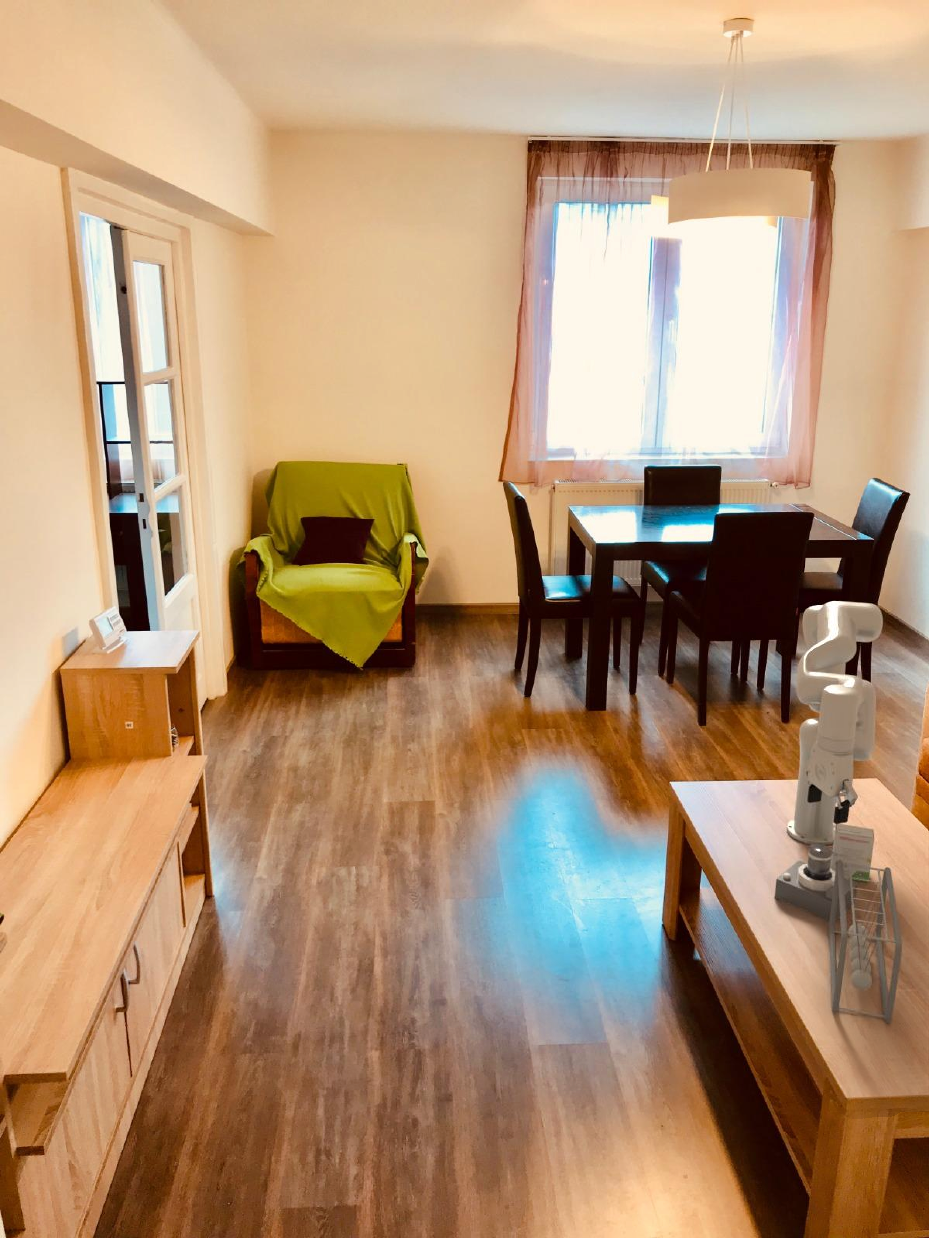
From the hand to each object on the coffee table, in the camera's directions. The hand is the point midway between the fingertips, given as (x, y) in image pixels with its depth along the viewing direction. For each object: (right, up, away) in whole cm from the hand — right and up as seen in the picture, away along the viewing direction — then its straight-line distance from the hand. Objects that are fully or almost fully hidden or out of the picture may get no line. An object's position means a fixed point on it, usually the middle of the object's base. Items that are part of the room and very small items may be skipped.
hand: (826, 811), depth 215 cm
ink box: (+12, -18, +17) cm, 27 cm away
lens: (0, -17, +5) cm, 17 cm away
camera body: (0, -21, +6) cm, 22 cm away
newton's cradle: (-1, -29, -18) cm, 35 cm away
